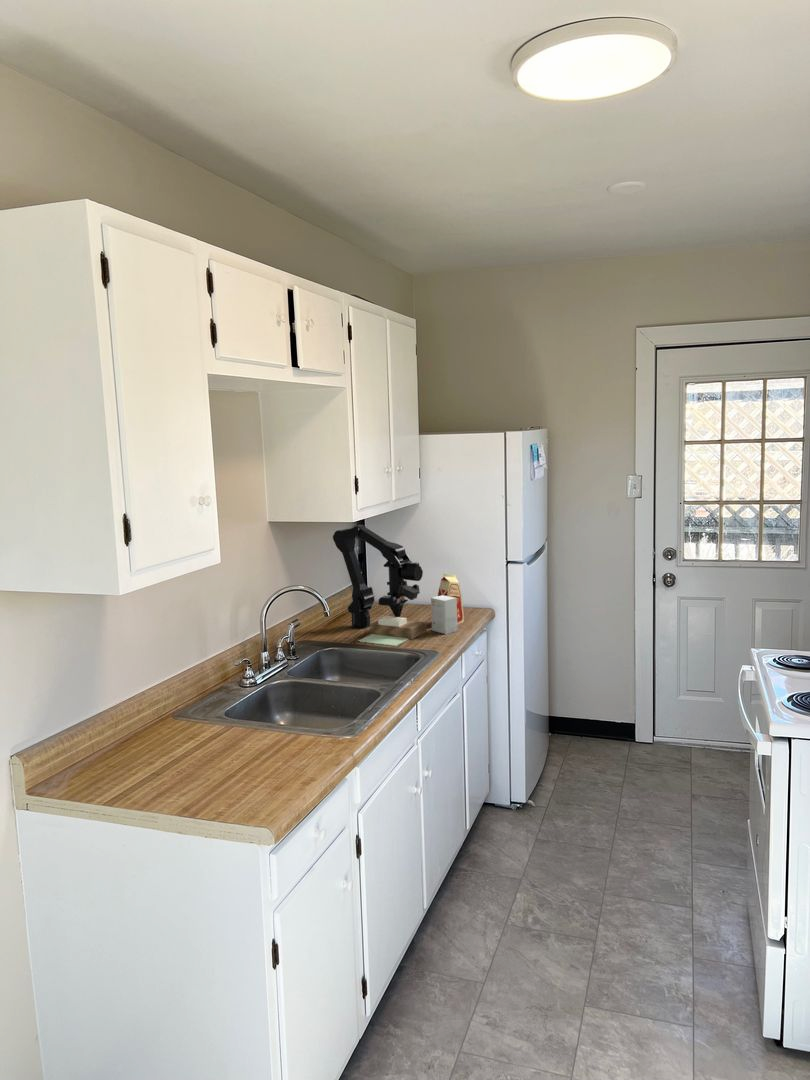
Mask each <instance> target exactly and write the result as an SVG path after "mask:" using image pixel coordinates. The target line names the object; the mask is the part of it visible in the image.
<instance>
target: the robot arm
mask: <svg viewBox="0 0 810 1080" xmlns="http://www.w3.org/2000/svg"><path fill="white" fill-rule="evenodd" d="M356 538H359V539H360V540H362V541H364V542H366V543H367V544H368V545H370V546H372V547H373V548H375V549H377V550H378V551H379V552H380V553H381V554H380V555H382V557H383V558H384V559H385V560H386V562H385V563H384V564H383V567H385V568H388V581H386V585H387V586H389V588H388V589H389V591H388V592H386V593H387V594H386V595H383V596H380V597H379V598H378V605H379V606H388V607H389V608H390V610H391V611H392V613H393V616H394V617H401V615H402V611H403V607H404V605H405V604H406V603H407V602H408V601H414V600H416V599H417V598H418V595H419V594H420V593H421V591H420V586H419V584H413V585H408V581H414V582H415V581H416V582H419V581H421V580H422V578H423V575H424V574H423V573H424V571H423V569H422V567H421V566H420V563H419V562H413V561H412V559H411V558H410V557H409V555H408V552H406V548H405V547H404V546H403V545H401V544H398V543H396V542H391V541H388V540H387V539H385V538H383V537H382V536H380V535H379V534H376V532H374V531H372V530H371V529H369V528H367V527H366V526H365V525H363V524H359V525H355V526H353V527H351V528H344V529H339V530H335V532H334V533H333V535H332V540H333V543H334V544H335V547H336V548H337V549H338V550H339V551H340V552H341V554H342V557H343V560H344V563H345V566H346V569H347V573H348V577H349V579H350V582H351V586H352V593H351V600H352V602H350V604H349V605H348V606H347V610H348V613H349V614H350V613H351V625H349V627H350V628H357V629H365V628H368V627H370V624H371V615H370V611H369V610H372V607H373V605H374V602H375V597H376V595H375V594H374V592H373V591H374V590H373V587H372V586H370V587H369V586H368V585H367V584H366V583H365V580H364V576H363V574H362V570H361V567H360V566H361V565H360V564H359V560H358V556H357V553H356V551H355V547H356ZM406 598H407V599H406Z"/></svg>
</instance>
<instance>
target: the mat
mask: <svg viewBox="0 0 810 1080" xmlns="http://www.w3.org/2000/svg"><path fill="white" fill-rule="evenodd" d="M408 640H410V639H409V638H401V637H392V636H383V635H375V634H369V635H366V636H365V637H363V638H361V639H359V640H358V641H360V642H359V643H365V642H367V644H373V643H374V644H375V645H382V644H383V646H390V647H391V646H392V647H397V646H400V645H401V644H403V643H405V642H406V641H408Z"/></svg>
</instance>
